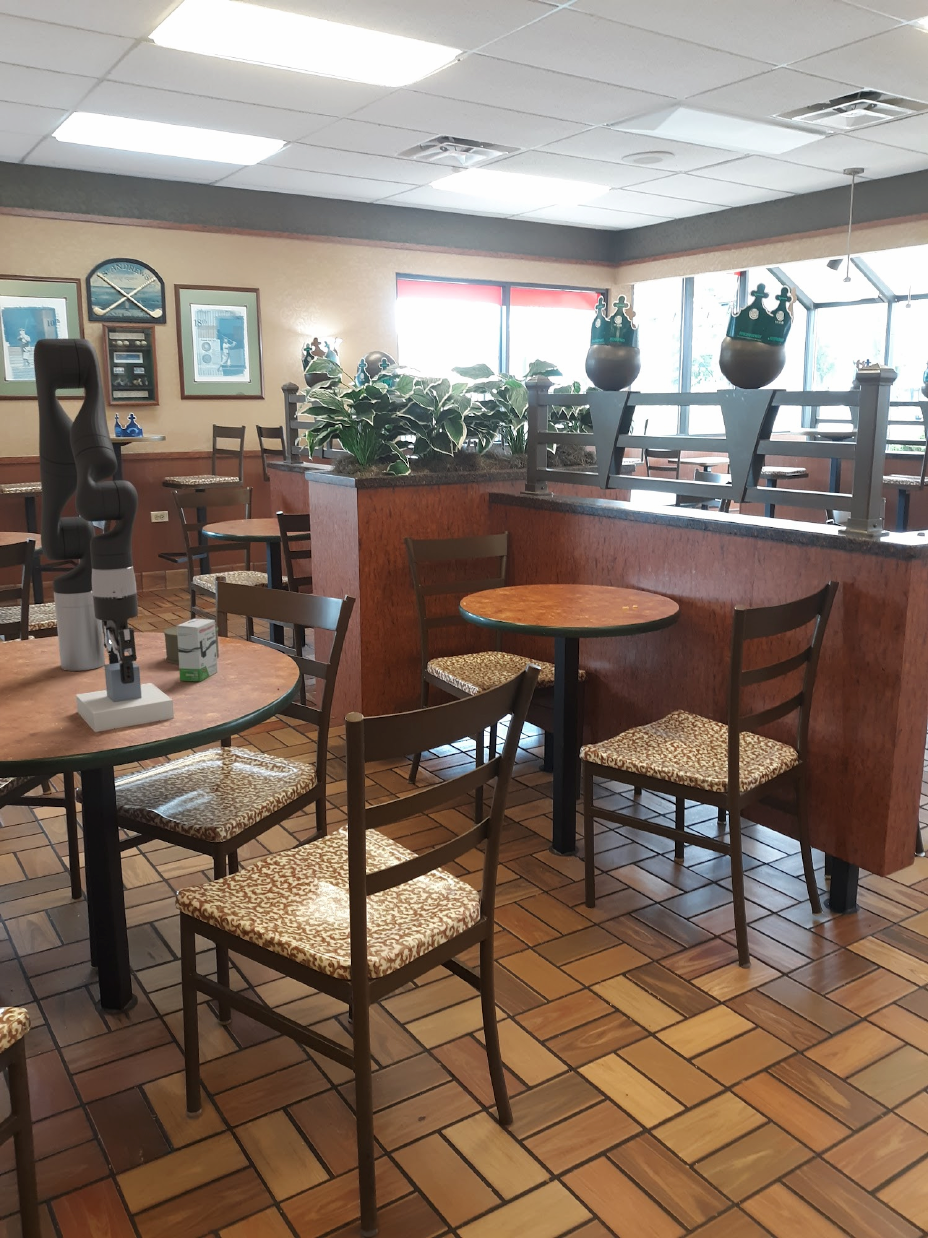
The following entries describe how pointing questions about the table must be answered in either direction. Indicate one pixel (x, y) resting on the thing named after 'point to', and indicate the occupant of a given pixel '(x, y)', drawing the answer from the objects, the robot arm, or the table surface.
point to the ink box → (197, 649)
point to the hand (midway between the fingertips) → (122, 677)
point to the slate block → (121, 684)
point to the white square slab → (124, 708)
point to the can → (172, 644)
